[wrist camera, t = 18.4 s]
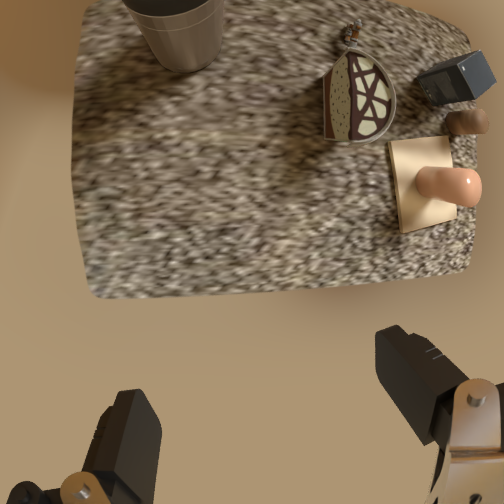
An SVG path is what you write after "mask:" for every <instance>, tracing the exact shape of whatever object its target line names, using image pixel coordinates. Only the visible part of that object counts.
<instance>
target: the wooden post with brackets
mask: <svg viewBox="0 0 504 504" xmlns="http://www.w3.org/2000/svg"><path fill="white" fill-rule="evenodd" d="M347 27H348V28H349V31H347V32H349V33H347V34H345V35H346V36H345V39H344V40H345V41H346V42H345V44H346V45H348V47H352V48H356V45H357V43H356V42H357V41H358V39H357V38H358V34H359V32H360V30H361V27H362V24H361V20H359V19H357V20H356V22H354V25H352V24H347ZM350 28H351V30H352V32H351V30H350ZM351 33H352V35H351Z"/></svg>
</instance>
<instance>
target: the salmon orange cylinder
mask: <svg viewBox="0 0 504 504" xmlns="http://www.w3.org/2000/svg"><path fill="white" fill-rule="evenodd" d="M416 187H417V190H418V192H419V193H420V194H421V195H422V196H423V197H425V198H430V199H435V200H439V201H444V202H448V203H453V204H457V205H461V206H465V207H473V206H475V205H476V204H477V203H478V201H479V199H480V196H481V192H482V191H481V190H482V186H481V180H480V177H479V176H478V174H477V173H476V172H475V171H474V170H472V169H462V168H450V167H435V166H425V167H422V168H421V169H420V170H419V172H418V173H417V176H416Z"/></svg>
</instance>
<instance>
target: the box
mask: <svg viewBox="0 0 504 504" xmlns="http://www.w3.org/2000/svg"><path fill="white" fill-rule="evenodd" d="M417 80H418V81H419V83H420V85H421V87H422V88H423V90H424V92H425V94H426V95H427V97H428V99H429V101H430V102H431V104H432V106H438V105H443V104H450V103H456V102H462V101H469V100H475V99H477V98H478V97H479V96H480V95H482V94H483V93H484V92H485V91H486V90H488V89H489V88H490V87H491V86H493V85H494V84H495V83H496V79H495V77H494V75H493V73H492V71H491V69H490V67H489V65H488V63H487V61H486V59H485V57H484V55H483V53H482V52H481V50H478V51H474V52H471V53H468V54H465V55H462V56H458V57H455V58H452V59H449V60H446V61H443V62H441V63H439V64H437V65H435V66H434V67H432V68H430V69H429V70H427V71H425V72H424V73H422V74H421V75H419V76H417Z"/></svg>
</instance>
